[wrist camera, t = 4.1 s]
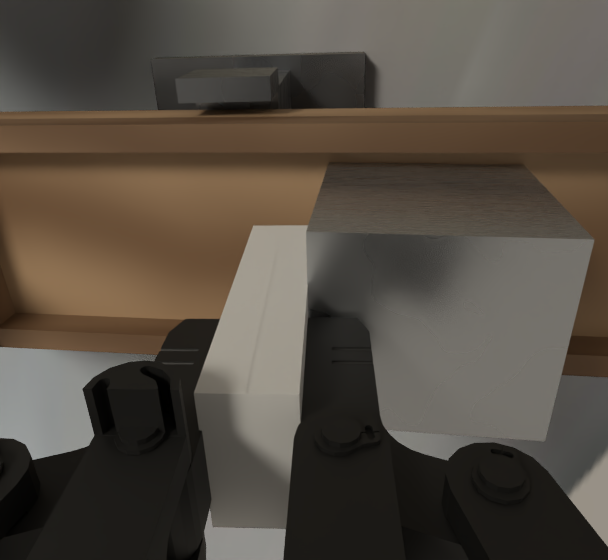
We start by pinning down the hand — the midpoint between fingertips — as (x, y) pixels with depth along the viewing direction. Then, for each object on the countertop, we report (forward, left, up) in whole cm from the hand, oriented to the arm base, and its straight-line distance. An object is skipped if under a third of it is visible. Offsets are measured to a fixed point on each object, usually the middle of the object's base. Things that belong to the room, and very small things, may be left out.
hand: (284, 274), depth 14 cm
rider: (0, +4, -2) cm, 4 cm away
